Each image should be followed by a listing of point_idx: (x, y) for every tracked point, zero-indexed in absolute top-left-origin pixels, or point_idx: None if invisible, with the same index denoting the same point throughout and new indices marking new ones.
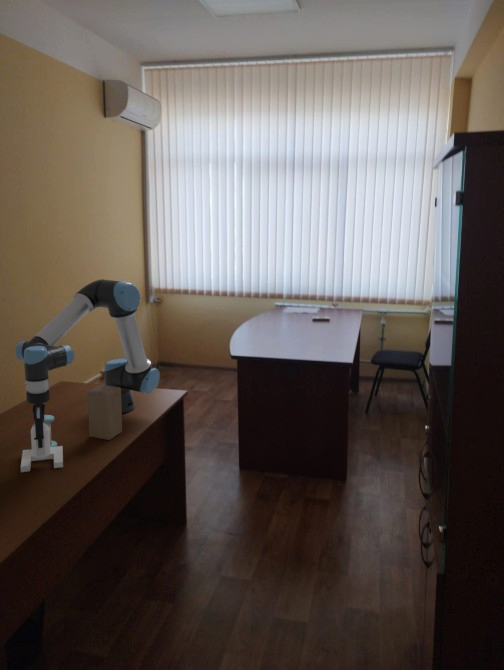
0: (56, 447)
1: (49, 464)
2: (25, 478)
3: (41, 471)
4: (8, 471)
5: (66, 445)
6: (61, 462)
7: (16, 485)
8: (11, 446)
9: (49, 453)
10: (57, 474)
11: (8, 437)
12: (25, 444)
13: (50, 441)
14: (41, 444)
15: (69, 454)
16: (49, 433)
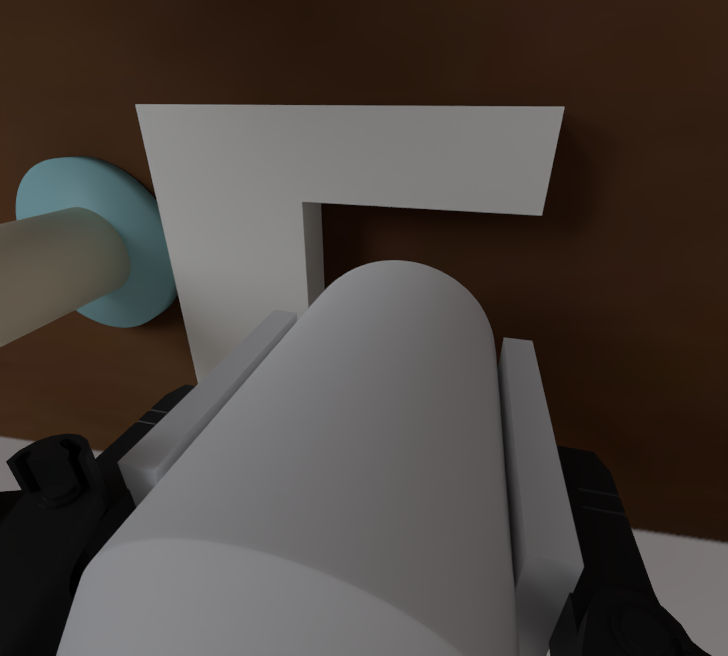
0: (169, 170)
1: (431, 240)
2: (616, 426)
3: (548, 313)
4: None
5: (64, 63)
6: (560, 123)
7: (705, 487)
8: (109, 430)
9: (446, 278)
10: (714, 174)
11: (8, 427)
12: (78, 365)
13: (68, 225)
14: (616, 520)
15: (257, 26)
16: (324, 429)
